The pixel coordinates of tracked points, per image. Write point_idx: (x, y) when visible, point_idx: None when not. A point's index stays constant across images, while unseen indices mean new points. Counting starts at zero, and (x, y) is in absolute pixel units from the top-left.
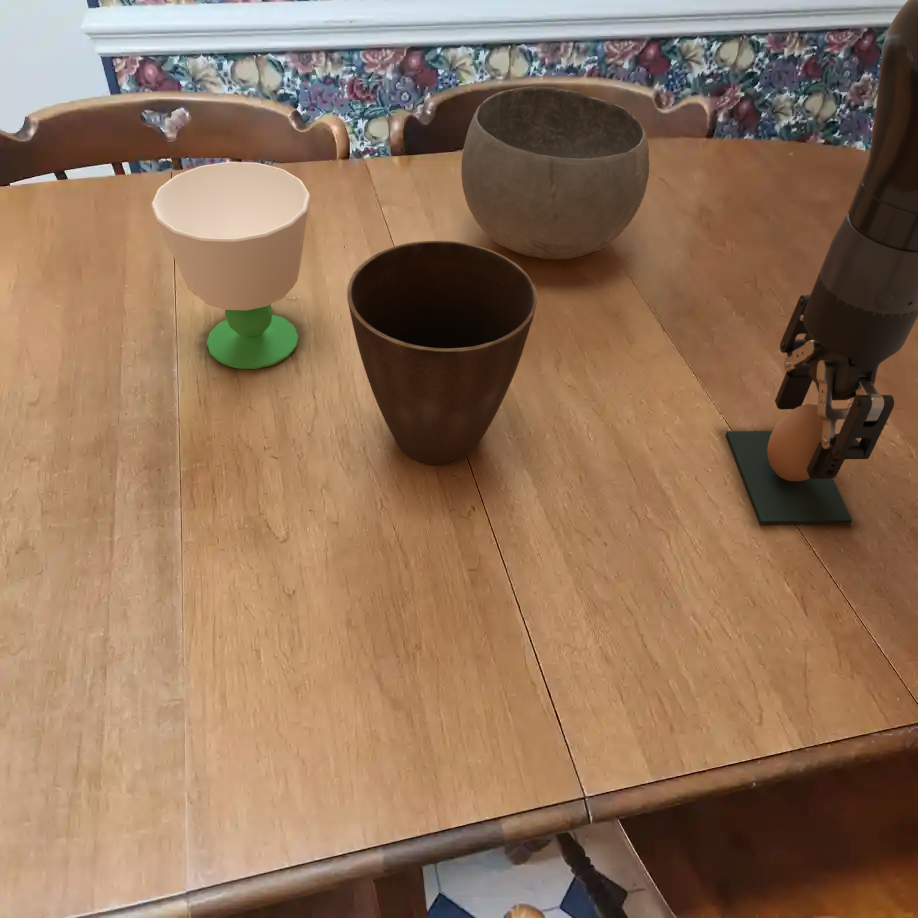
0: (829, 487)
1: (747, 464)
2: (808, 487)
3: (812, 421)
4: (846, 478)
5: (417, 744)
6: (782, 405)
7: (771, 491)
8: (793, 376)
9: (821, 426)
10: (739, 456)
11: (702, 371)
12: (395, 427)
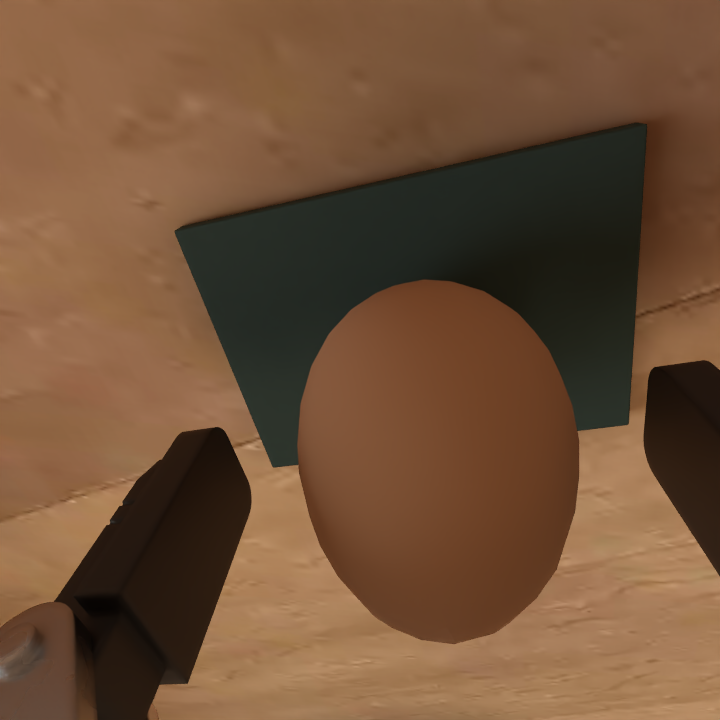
0: (467, 195)
1: None
2: (477, 275)
3: (522, 610)
4: (382, 99)
5: None
6: (241, 498)
7: None
8: (166, 666)
9: (548, 562)
10: None
11: (43, 482)
12: None
